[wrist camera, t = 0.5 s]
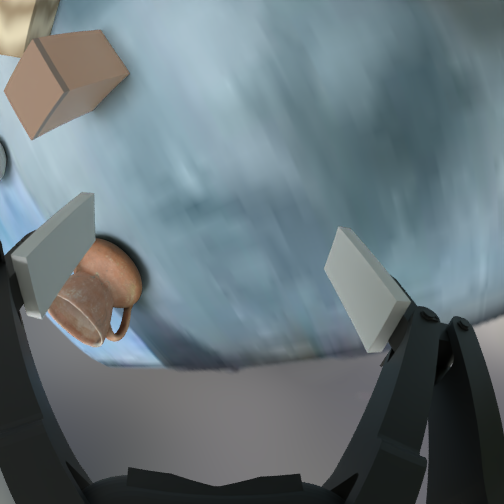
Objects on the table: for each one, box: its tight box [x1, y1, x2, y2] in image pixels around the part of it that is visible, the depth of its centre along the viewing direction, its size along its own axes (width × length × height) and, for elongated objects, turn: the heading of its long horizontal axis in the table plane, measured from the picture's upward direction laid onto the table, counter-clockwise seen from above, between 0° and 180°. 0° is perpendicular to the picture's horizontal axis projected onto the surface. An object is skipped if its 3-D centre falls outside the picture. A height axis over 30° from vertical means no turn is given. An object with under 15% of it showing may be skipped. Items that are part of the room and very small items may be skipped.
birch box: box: [0, 0, 60, 58], centre depth 18 cm, size 16×16×5 cm
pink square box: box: [4, 30, 130, 140], centre depth 23 cm, size 8×8×11 cm
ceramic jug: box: [47, 238, 142, 347], centre depth 43 cm, size 18×14×14 cm
